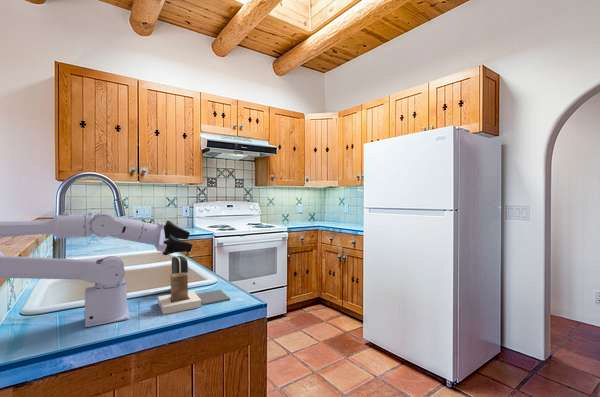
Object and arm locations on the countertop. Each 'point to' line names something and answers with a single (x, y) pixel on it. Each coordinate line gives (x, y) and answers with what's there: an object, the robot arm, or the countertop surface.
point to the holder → (178, 303)
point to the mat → (212, 297)
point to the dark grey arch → (179, 264)
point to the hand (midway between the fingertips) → (190, 241)
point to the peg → (179, 287)
